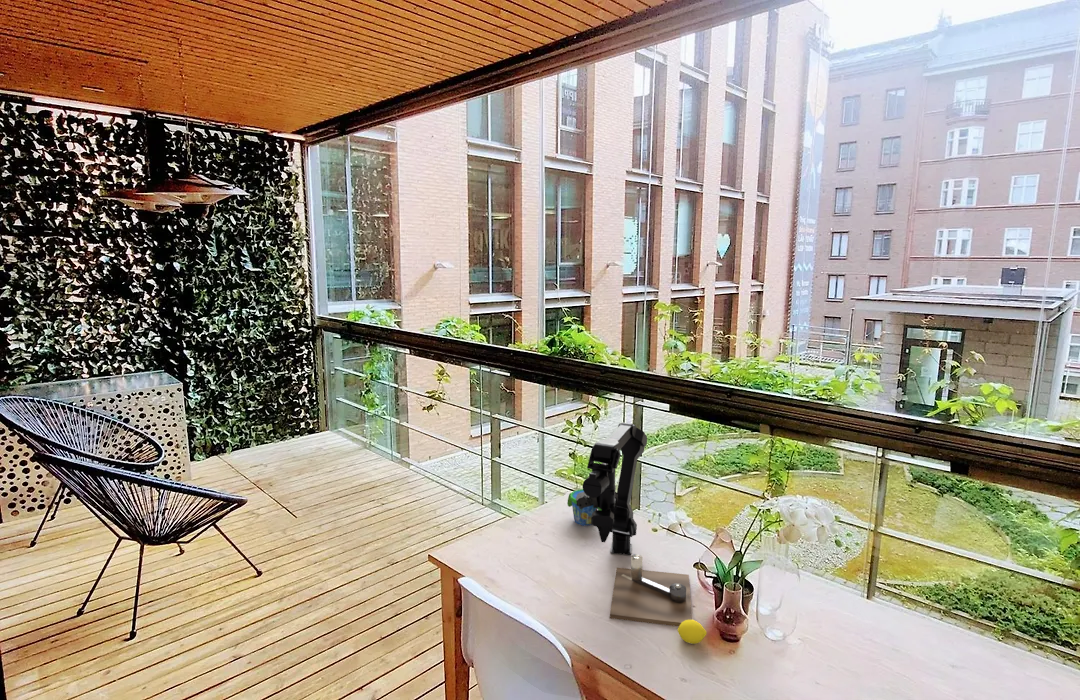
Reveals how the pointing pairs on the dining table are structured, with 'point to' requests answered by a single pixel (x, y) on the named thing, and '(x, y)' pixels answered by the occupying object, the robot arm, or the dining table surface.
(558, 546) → the dining table surface
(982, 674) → the dining table surface
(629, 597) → the board
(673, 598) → the lever
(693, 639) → the lemon
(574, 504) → the snack cup
